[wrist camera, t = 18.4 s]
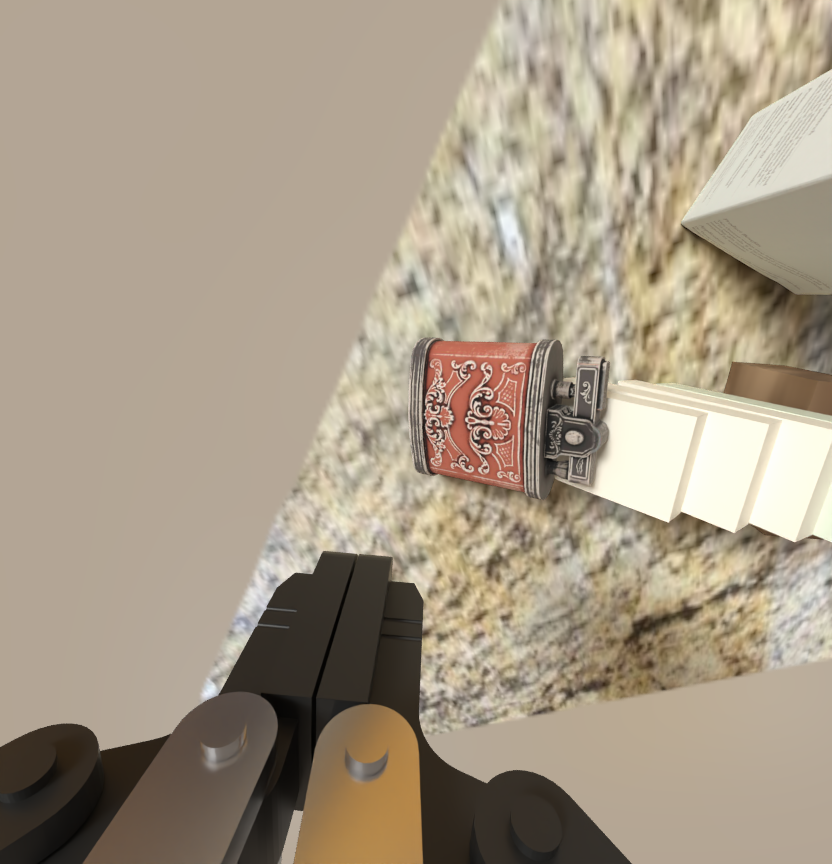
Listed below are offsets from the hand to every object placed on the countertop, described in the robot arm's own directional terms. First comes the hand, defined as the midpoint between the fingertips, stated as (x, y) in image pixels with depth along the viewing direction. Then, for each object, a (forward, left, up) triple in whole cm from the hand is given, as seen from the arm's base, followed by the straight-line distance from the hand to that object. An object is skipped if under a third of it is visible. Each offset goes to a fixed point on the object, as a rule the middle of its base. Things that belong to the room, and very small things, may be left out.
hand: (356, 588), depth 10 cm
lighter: (-1, 0, -17) cm, 17 cm away
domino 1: (-6, 0, -18) cm, 19 cm away
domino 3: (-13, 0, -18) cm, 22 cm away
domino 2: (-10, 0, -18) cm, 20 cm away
